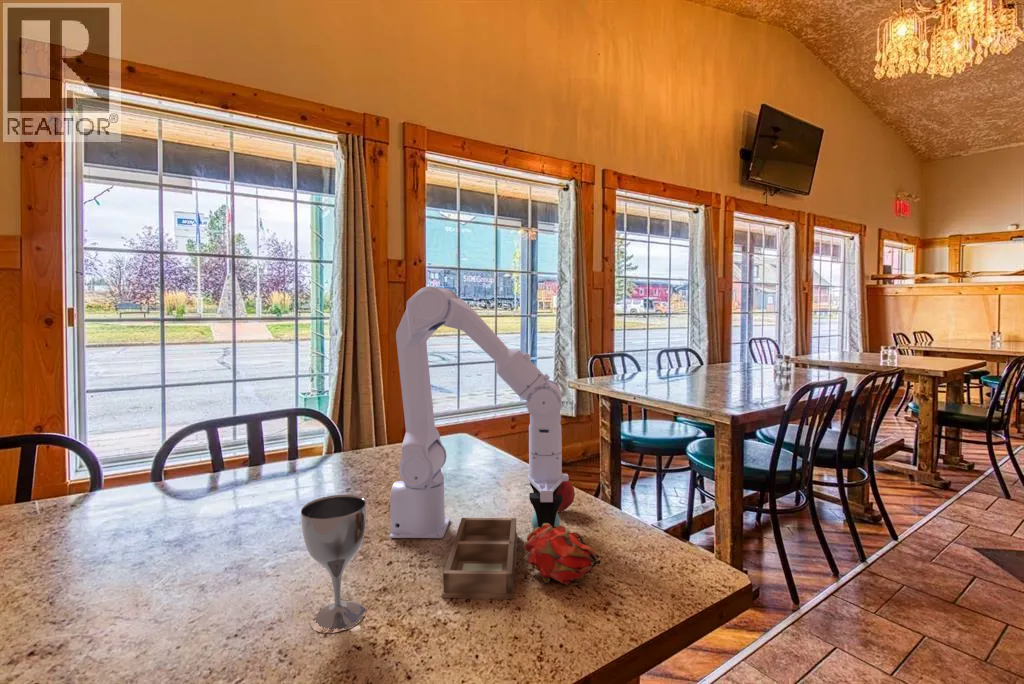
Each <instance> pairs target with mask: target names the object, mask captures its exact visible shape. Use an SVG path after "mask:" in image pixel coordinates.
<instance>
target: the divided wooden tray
mask: <svg viewBox="0 0 1024 684" xmlns="http://www.w3.org/2000/svg"><path fill="white" fill-rule="evenodd" d="M518 535H519V533H518V532H517V518H515V517H513V518H512V517H507V518H506V517H461V519H460V522H459V525H458V528H457V531H456V533H455V538H454V540H453V543H452V545H451V550H450V552H449V555H448V558H447V561H446V564H445V567H444V570H443V573H442V577H443V579H442V581H443V582H442V584H443V589H442V592H441V598H442V599H493V600H494V599H497V600H498V599H499V600H501V599H504V600H505V599H506V600H508V599H509V600H510V599H511V600H512V599H514V595H515V594H514V593H515V591H514V590H515V581H516V579H515V578H516V565H517V563H516V562H517V552H518V551H517V549H518Z"/></svg>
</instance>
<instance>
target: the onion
mask: <svg viewBox="0 0 1024 684" xmlns="http://www.w3.org/2000/svg"><path fill="white" fill-rule="evenodd" d="M562 474H564V473H563V472H562ZM575 494H576V493H575V488H574V486H573V484H572V482H571V481H570V480H568V481H563V482H561V484H560V486H559V488H558V491H557V493H556V495H563V500H562V503H561V505H560V506H559V508H558V511H557V513H562V512H564V511H565V510H566V509H567V510H568V508H569V507H570V506H572V504H573V502H574V500H575Z"/></svg>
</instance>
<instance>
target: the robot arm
mask: <svg viewBox="0 0 1024 684" xmlns="http://www.w3.org/2000/svg"><path fill="white" fill-rule="evenodd" d="M442 326H444V327H447V328H451V329H456V330H459V331H463V332H464V333H465V335H467V336H468V337H469V338H470V339H471V340H472V341H473V342H474V343H475V344H476V345H477V346H478V347H479V348H480V349H482V350H483V352H484V353H486V354H487V356H489V357H490V358H491V359H492V360H493V361H494V362H495V373H496V374H497V375H498V376H499V377H500V379H501V380H503V381H504V383H505V384H507V386H508V387H510V389H511V390H512V391H513V392H514V393H515V394H516V395H518V397H519V398H520V399H523V400H525V401H526V402H525V405H526V409H527V411H528V412H529V425H528V475H527V480H528V482H529V485H530V488H531V489H532V492H529V501H530V503H531V505H532V507H533V510H534V512H535V513H536V516H537V522H538V527H542V525H543V523H549V524H550V525H551V526H552V527H554V524H555V519H556V514H557V513H558V512H557V511H558V508H559V506H560V505H561V503H562V500H563V495H556V493H557V491H558V488H559V486H560V484H561V482H563V481H568V480H569V475H568V473H563V472H562V471H563V470H562V469H563V466H562V465H563V454H562V453H563V452H562V451H563V447H562V446H563V445H562V443H563V442H562V441H563V440H562V437H563V436H562V434H563V433H562V424H561V421H562V415H561V409H562V405H563V404H562V400H563V394H562V391H561V389H560V387H559V386H558V384H557V382H555V381H553V380H550V378H551V377H550V376H549V375H548V374H547V373H545V374H544V373H542V371H541V370H540V369H539V368H538V367H537V366H536V365H535V364H534V362H532V361H531V360H530V359H531V358H532V356H531V355H530V354H529V353H528V352H522V350H520V349H510V348H509V347H508V346H507V345H505V342H503V341H502V340H501V339H500V338H499V336H497V334H496V333H495V332H494V331H493V330H492V329H491V327H489V326H488V324H487V323H486V322H485V321H484V320H483V319H482V317H481V316H480V315H479V314H478V313H477V312H476V310H474V308H472V307H471V306H470V305H469V304H468V303H467V302H466V301H465V300H464V299H462V298H459V297H458V295H457V293H455V291H453V290H452V289H450V288H447V287H439V288H438V287H436V286H435V287H434V286H425V287H422V288H420V289H419V290H417V291H416V292H415V293H414V294H412V296H411V297H410V298H409V299H408V300H407V301H406V309H405V311H404V312H403V315H402V317H401V320H400V323H399V324H398V327H397V329H396V333H395V340H396V350H397V358H398V359H397V360H398V361H397V362H398V369H399V377H400V378H399V379H400V388H401V397H402V398H401V399H402V407H403V414H404V415H403V416H404V417H403V418H404V427H405V433H404V437H403V441H402V444H401V459H400V461H399V464H398V475H399V477H400V479H401V480H397V481H395V482H393V484H392V487H391V489H390V496H389V510H390V511H389V513H390V517H389V518H390V534H389V538H391V539H392V538H393V539H443V538H444V536H445V534H446V531H447V529H448V526H449V523H450V521H451V517H449V516H446V515H445V513H446V512H445V511H446V510H445V508H446V507H445V506H446V505H445V477H444V475H443V472H442V468H443V467H444V465H445V464H446V462H447V457H448V455H447V450H446V448H445V446H444V444H443V443H442V440H441V437H440V436H441V435H440V432H439V430H438V428H437V427H436V425H435V415H434V414H435V413H434V405H433V395H432V387H431V376H430V365H429V355H428V354H429V353H428V344H427V341H428V340H429V339H430V337H432V336H433V335H434V333H435V332H436V331H437V330H438V329H439V328H441V327H442ZM562 473H563V474H562ZM569 481H570V480H569Z"/></svg>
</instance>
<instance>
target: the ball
mask: <svg viewBox="0 0 1024 684" xmlns="http://www.w3.org/2000/svg"><path fill="white" fill-rule="evenodd" d="M558 513H559V512H557V514H556V519H555V524H554V526H555V525H558V526H559V525H561V520H560V519H561V518H560V516H559V514H558ZM531 526H532V528H533V529H534V528H535V527H538V522H537V516H536V513H535V511H534V513H533V514H532V517H531ZM533 529H532V530H533Z"/></svg>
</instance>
